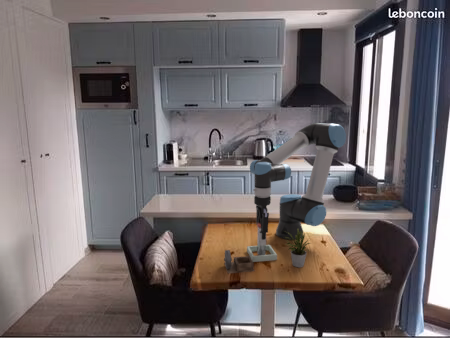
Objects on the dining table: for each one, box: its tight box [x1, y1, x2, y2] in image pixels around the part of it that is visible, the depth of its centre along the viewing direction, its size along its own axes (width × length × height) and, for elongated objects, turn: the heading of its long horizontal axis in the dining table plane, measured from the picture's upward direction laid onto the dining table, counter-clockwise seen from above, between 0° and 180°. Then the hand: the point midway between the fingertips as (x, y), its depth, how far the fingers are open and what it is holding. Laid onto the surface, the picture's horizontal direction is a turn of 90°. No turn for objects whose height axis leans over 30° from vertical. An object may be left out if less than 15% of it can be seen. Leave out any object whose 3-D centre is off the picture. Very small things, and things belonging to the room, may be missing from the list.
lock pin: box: [256, 222, 267, 256], centre depth 160 cm, size 5×5×15 cm
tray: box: [246, 244, 278, 263], centre depth 162 cm, size 12×12×4 cm
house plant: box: [284, 229, 312, 268], centre depth 155 cm, size 14×14×16 cm
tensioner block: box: [223, 249, 256, 274], centre depth 150 cm, size 13×10×10 cm
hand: (261, 243), depth 161 cm, fingers closed on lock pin, 4 cm apart
